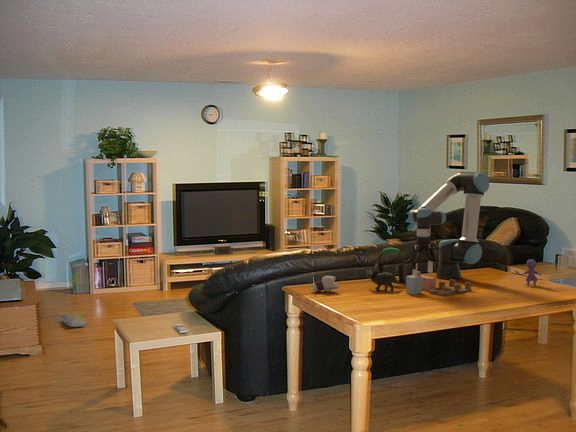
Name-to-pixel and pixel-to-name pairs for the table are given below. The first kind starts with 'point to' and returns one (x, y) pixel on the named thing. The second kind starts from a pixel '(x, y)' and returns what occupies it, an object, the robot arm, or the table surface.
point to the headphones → (401, 266)
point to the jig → (450, 288)
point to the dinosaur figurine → (382, 279)
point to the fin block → (414, 284)
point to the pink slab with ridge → (427, 282)
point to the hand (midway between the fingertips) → (422, 274)
